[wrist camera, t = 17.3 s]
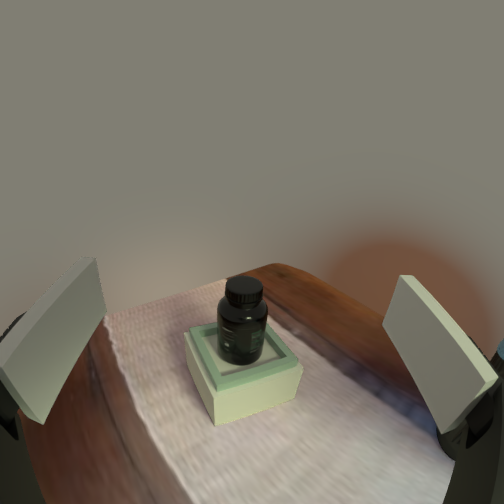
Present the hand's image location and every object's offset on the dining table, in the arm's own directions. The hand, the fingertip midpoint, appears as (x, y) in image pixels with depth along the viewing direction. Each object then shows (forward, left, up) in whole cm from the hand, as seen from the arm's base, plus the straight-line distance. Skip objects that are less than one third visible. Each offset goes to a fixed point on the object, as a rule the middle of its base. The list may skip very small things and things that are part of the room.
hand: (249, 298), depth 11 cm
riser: (-10, -19, -32) cm, 38 cm away
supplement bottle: (-10, -19, -24) cm, 32 cm away
